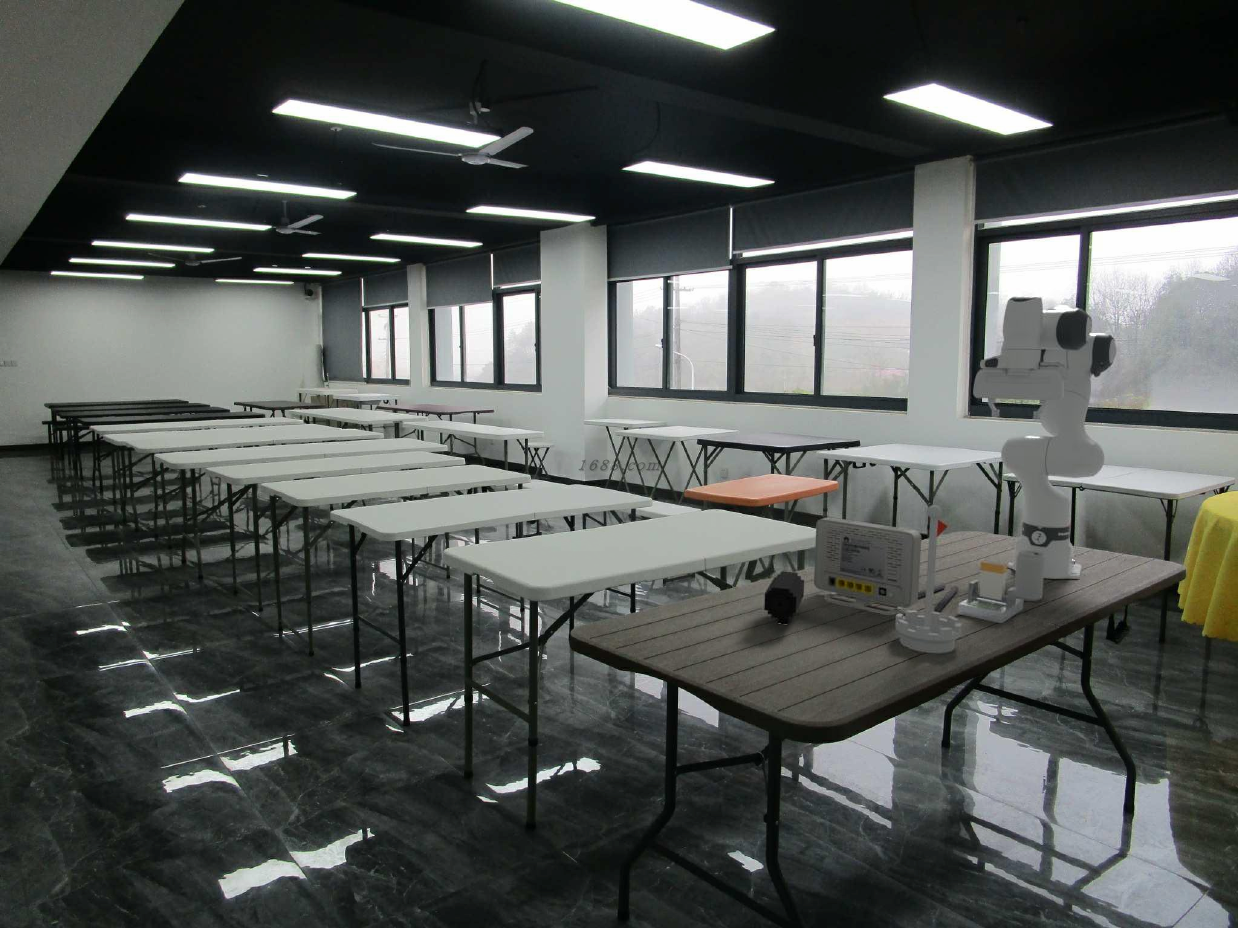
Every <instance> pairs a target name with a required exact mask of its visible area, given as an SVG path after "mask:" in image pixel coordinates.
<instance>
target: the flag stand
mask: <svg viewBox="0 0 1238 928" xmlns="http://www.w3.org/2000/svg"><path fill="white" fill-rule="evenodd" d="M926 514H927V516H928V517H929V518H930V519H929V535H928V536H929V538H928V549H927V551H928V552H927V553H928V554H927V569H926V570H927V571H926V584H925V585H926V587H925V589H926V595H925V603H924V604H925V606H924V615H919V612H918V611H917V610H915V609H913V610H905V615H904V613H901V612H900V613H898V614H895V626H894V628H895V630H897V631H898V633H899V643H900V642H901V643H900V644H901V645H902V646H903V647H905V646H906V647H905V648H907V647H908V648H907V649H909V650H913V651H917V652H922V653H928V654H929V653H930V654H944V653H950V652H952V651H954V650H955V647H956V640H957V639H958V638H960V637H961V636H962V623H961V622H959V619H958V618H956V617H955V616H953V615H948V616H947V618H941V612H935V611H934V593H935V592H934V586H935V576H936V575H935V574H936V558H937V543H938V542H937V541H938V537H939V536H940V535H941V534H942V533H943V532H944V531H946V529H947V528H948V527H949V525H947V524H945V523H944V522H943V521H941V520H939V518H941V516H942V514H943V511H942V508H941V507H940V506H939V505H936V504H932V505H930V506H928V508H927V510H926Z"/></svg>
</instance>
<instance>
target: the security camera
mask: <svg viewBox="0 0 1238 928" xmlns="http://www.w3.org/2000/svg"><path fill="white" fill-rule="evenodd" d="M804 590H805V579H802V576H801V575H799V574H798V572H792V571H784V570H783V571H780V573H777V575H776V576H774V577H773V579H772V581H771V582H770V584H769V585H768V587H767V588H766V591H765V592H764V603H763V605H764V606H763V607H764V608H763V609H764V611H767V615H770V619H777V624H778V623H781V624H788V623H789V624H790V622H791V617H793V616H794V614H797V612H798V610H799V608H800V605H801V602H802V600H803V598H804V595H805V593H804ZM789 624H788V625H789Z"/></svg>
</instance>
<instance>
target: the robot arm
mask: <svg viewBox="0 0 1238 928" xmlns="http://www.w3.org/2000/svg"><path fill="white" fill-rule="evenodd" d="M1042 299H1043V298H1042V296H1039V295H1036V294H1025V295H1024V294H1022V295H1017V296H1012V297H1011V298H1009V299H1008V300H1007V302H1006V305H1005V306H1006V307H1005V309H1004V314H1003V315H1004V316H1003V322H1002V323H1003V324H1002V335H1003V342H1002V345H1001V349H1000V354H999V355H994V356H992V357H988V358H985V359H981V360H980V363H979V367H980V368H981V369H980V370H978V372H977V373H976V376H975V379H974V382H973V383H974V384H973V391H972V393H973V396H974V397H975V398H976V399H987V404H988V406H989V408H990V410H991V418H992V417H993V418H1000V409H997V408H996V406H995V404H996V403H997V402H996V400H997V399H1002V400H1030V401H1039V403H1038V404H1039V405H1040V406H1039V408H1038V409H1037V410H1035V411H1032V413H1033V416H1032V419H1033V420H1034V419H1035V420H1039V421H1040V423H1041V426H1042V427H1043V429H1044V430H1045V432H1047V433H1049V434H1050V435H1051V436H1047V435H1046V436H1045V435H1030V434H1025V435H1017V436H1012V437H1009V439H1007V440H1006V441H1005V443H1004V444H1003V446H1002V447H1001V455H1000V457H1001V460H1002V464H1003V465H1004V466H1005V468H1006V469H1008V470H1009V471H1010V472H1011V473H1012V474H1013V475H1014V476H1015V478H1016V479H1017V480H1018V482H1019V484H1020V486H1021V487H1022V491H1023V495H1024V521H1023V522H1022V526H1021V535H1022V536H1020V537H1019V538H1018V539H1016V540H1015V544H1014V552H1013V559H1012V562H1008V563H1006V564H1007V569H1008V568H1009V569H1012V570H1014V571H1015V572H1016V559H1017V555H1018V554H1019V551H1022V550H1029V551H1037V552H1041V553H1043V554H1044V555H1043V557H1044V558H1045V564H1044V578H1043V579H1054V580H1056V579H1057V580H1058V579H1060V580H1062V579H1071V580H1079V579H1080V577H1081V572H1082V565H1081V564H1079V563H1076V560H1075V559H1074V556H1075V548H1074V546H1073V543H1071V541H1070V537H1071V536H1070V534H1071V524H1070V523H1069V519H1070V508H1071V506H1070V505H1071V502H1070V498H1069V497H1068V495H1067V494H1066V493H1064V492H1063V491H1062V490H1060V489H1058V488H1057V487H1056V486H1053V484H1051V482H1050V480H1049V476H1051V477H1059V478H1060V477H1061V478H1071V479H1081V478H1090V477H1095V475H1097V474H1098V473H1099V472H1100V471H1101V470H1102V468H1103V466H1104V464H1105V453H1104V450H1103V449H1102V446H1101V445H1100V444H1099V443H1098V441H1095V440H1093V439H1092V438H1091V437H1090V436H1089V435H1088V433H1087V432H1086V428H1085V424H1086V423H1085V422H1086V416H1087V412H1088V408H1089V404H1090V401H1091V391H1092V390H1091V389H1092V381H1091V378H1092V375H1093V376H1094V377H1095V378H1097V377H1098V378H1099V377H1100V375H1101V374H1102V373H1104V372H1105V371H1108V369H1109V368H1110V367H1111V366H1112V365H1113V363H1114V360H1115V359H1116V356H1117V352H1118V351H1117V344H1116V340H1115V338H1114V337H1113V336H1112V335H1111V334H1108V333H1104V332H1103V333H1102V332H1097V333H1093V332H1092V327H1093V320H1092V317H1091V315H1089V313H1087V312H1086V311H1085V310H1084V309H1082V308H1078V307H1076V306H1073V305H1068V304H1062V305H1054V306H1051V307H1049V308H1047V309H1045V310H1044V308H1043V300H1042Z"/></svg>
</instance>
